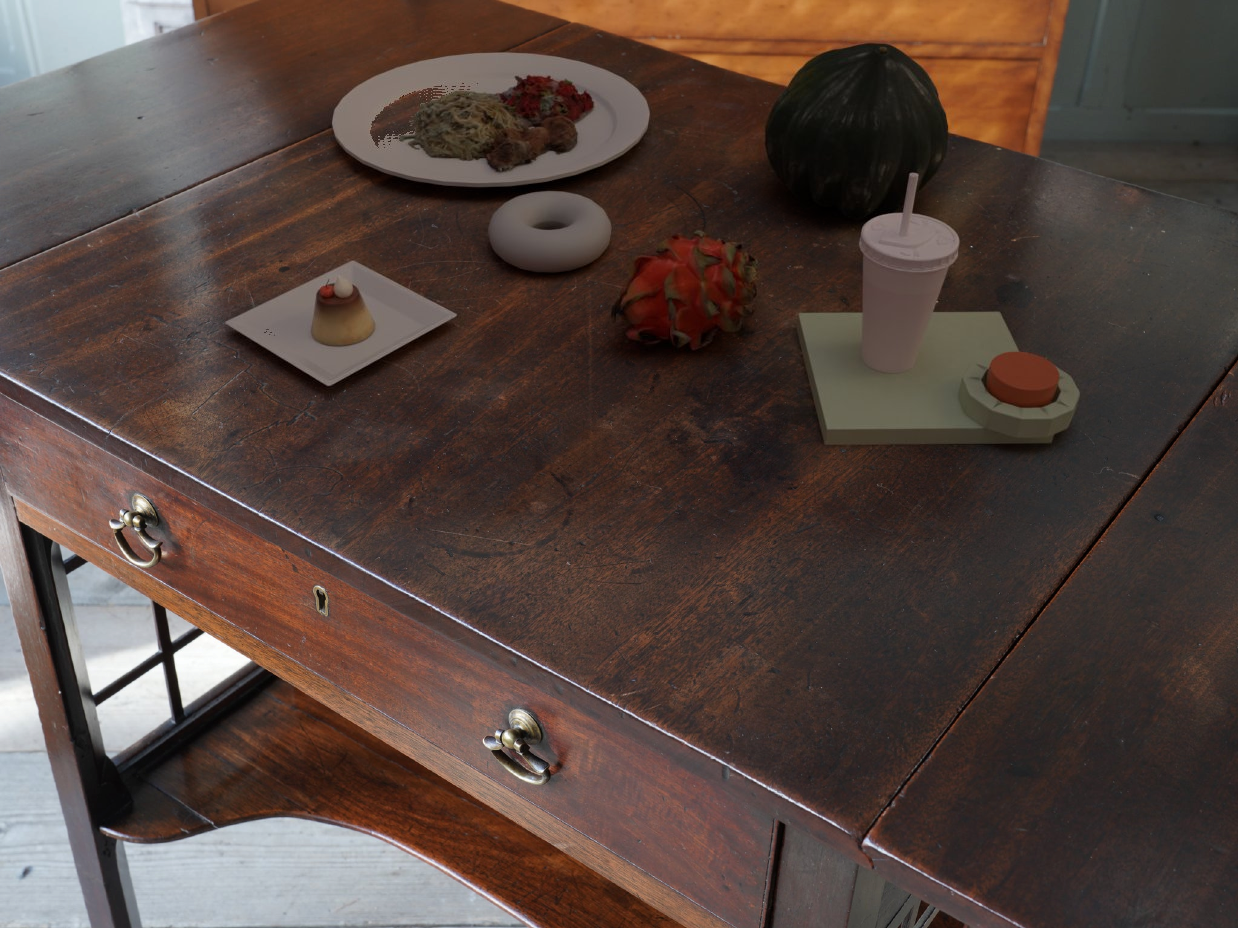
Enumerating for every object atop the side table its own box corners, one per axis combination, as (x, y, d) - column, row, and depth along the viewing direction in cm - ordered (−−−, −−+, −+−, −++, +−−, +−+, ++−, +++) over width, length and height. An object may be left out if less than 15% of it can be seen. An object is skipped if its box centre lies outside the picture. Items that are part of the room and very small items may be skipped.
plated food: (270, 165, 111) (263, 130, 109) (433, 53, 132) (430, 21, 130) (571, 229, 102) (570, 192, 100) (693, 97, 123) (694, 65, 121)
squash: (809, 81, 113) (791, -9, 99) (969, 117, 108) (974, 28, 94) (758, 221, 112) (731, 151, 97) (917, 263, 107) (914, 196, 93)
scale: (1018, 327, 91) (1026, 292, 89) (1082, 454, 79) (1093, 418, 77) (796, 328, 91) (800, 293, 89) (827, 457, 79) (832, 420, 77)
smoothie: (825, 344, 86) (850, 160, 78) (901, 325, 88) (934, 144, 80) (874, 393, 82) (907, 204, 73) (953, 372, 84) (995, 186, 75)
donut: (465, 247, 100) (540, 294, 94) (461, 209, 98) (538, 254, 92) (559, 210, 105) (637, 252, 99) (558, 172, 103) (637, 213, 97)
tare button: (1043, 370, 82) (1048, 350, 81) (1062, 409, 79) (1068, 389, 78) (978, 370, 82) (982, 351, 81) (995, 409, 79) (1000, 390, 78)
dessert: (226, 335, 89) (213, 278, 86) (354, 272, 96) (346, 217, 93) (330, 399, 83) (320, 341, 80) (459, 327, 90) (454, 271, 87)
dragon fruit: (766, 337, 92) (624, 394, 90) (718, 240, 94) (577, 293, 91) (799, 295, 84) (644, 356, 81) (745, 189, 86) (591, 246, 83)
